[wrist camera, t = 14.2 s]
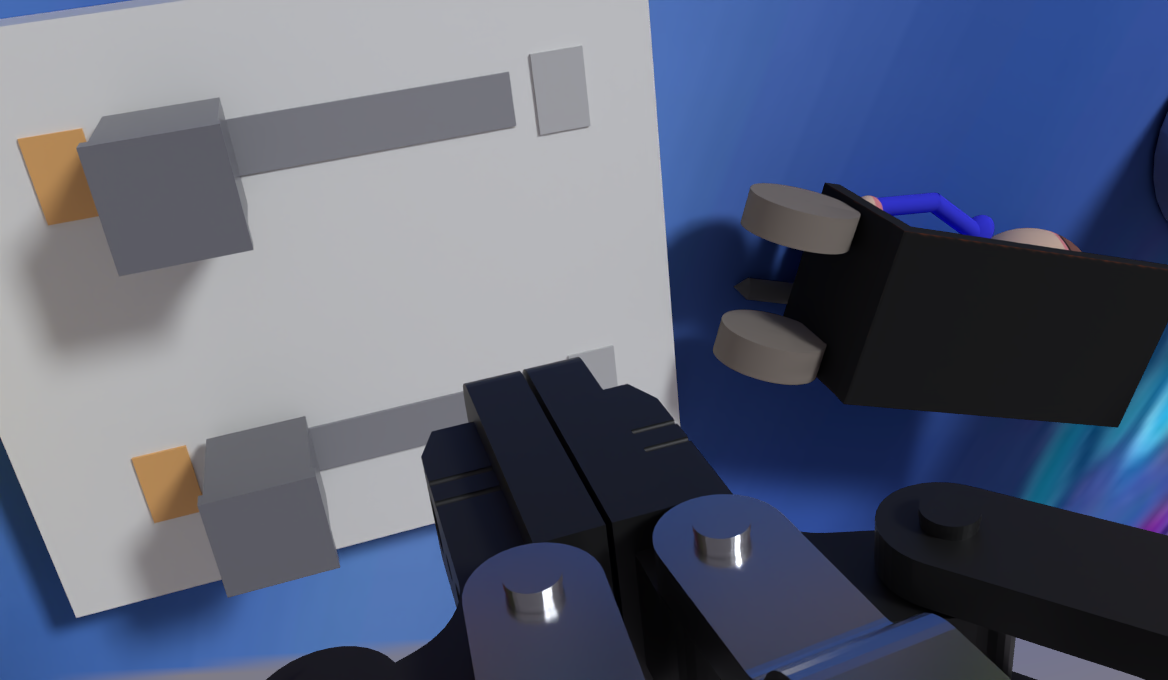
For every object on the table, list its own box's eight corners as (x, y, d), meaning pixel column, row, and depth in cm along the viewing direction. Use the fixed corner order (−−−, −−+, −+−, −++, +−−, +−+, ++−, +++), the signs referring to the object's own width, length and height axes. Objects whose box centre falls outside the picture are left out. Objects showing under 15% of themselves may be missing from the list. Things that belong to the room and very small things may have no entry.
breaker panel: (621, -69, 31) (644, -66, 30) (662, 431, 39) (683, 459, 37) (-137, 38, 27) (-164, 50, 25) (84, 580, 35) (76, 619, 33)
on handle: (308, 412, 32) (315, 476, 29) (329, 496, 33) (340, 567, 30) (201, 436, 31) (197, 505, 28) (229, 522, 33) (227, 597, 29)
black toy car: (669, 320, 39) (1013, 357, 43) (732, 410, 32) (1136, 445, 36) (709, 145, 37) (1070, 200, 40) (786, 202, 30) (1214, 262, 34)
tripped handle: (222, 93, 28) (220, 123, 24) (252, 205, 29) (253, 250, 26) (96, 113, 27) (76, 148, 23) (133, 228, 28) (119, 276, 25)
